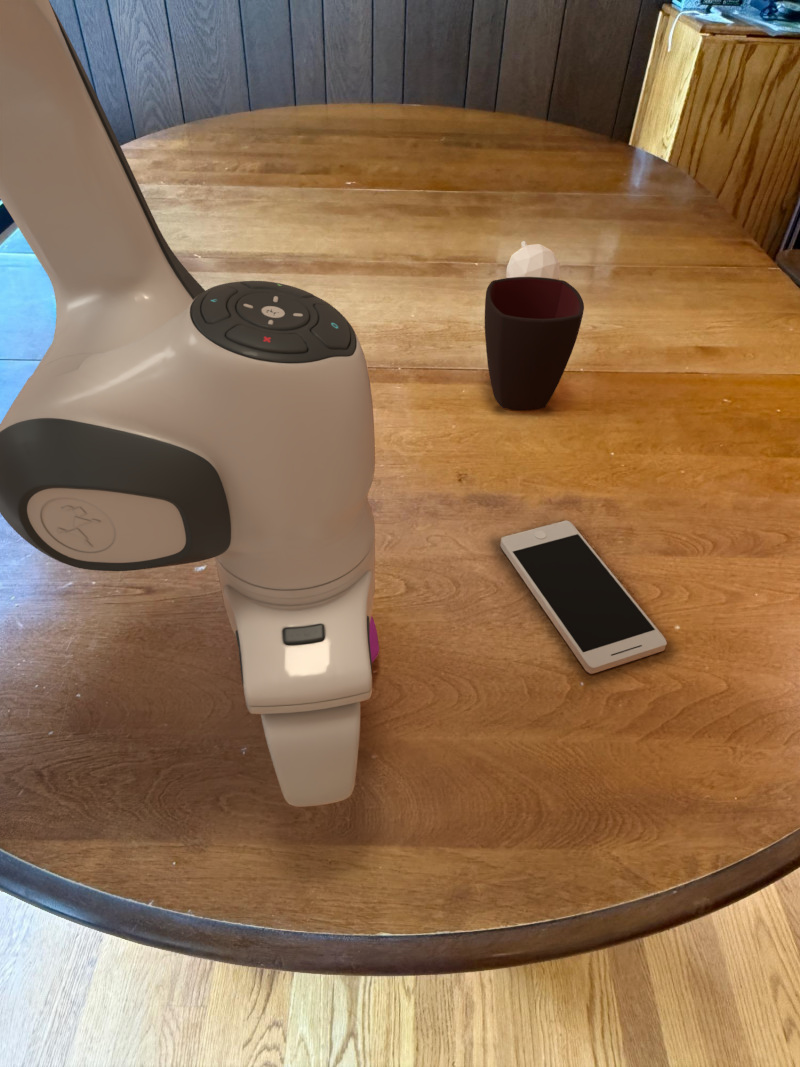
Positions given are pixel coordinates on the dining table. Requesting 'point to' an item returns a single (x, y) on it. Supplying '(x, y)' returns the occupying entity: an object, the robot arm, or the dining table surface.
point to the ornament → (533, 262)
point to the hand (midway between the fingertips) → (311, 709)
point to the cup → (529, 338)
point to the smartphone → (582, 597)
